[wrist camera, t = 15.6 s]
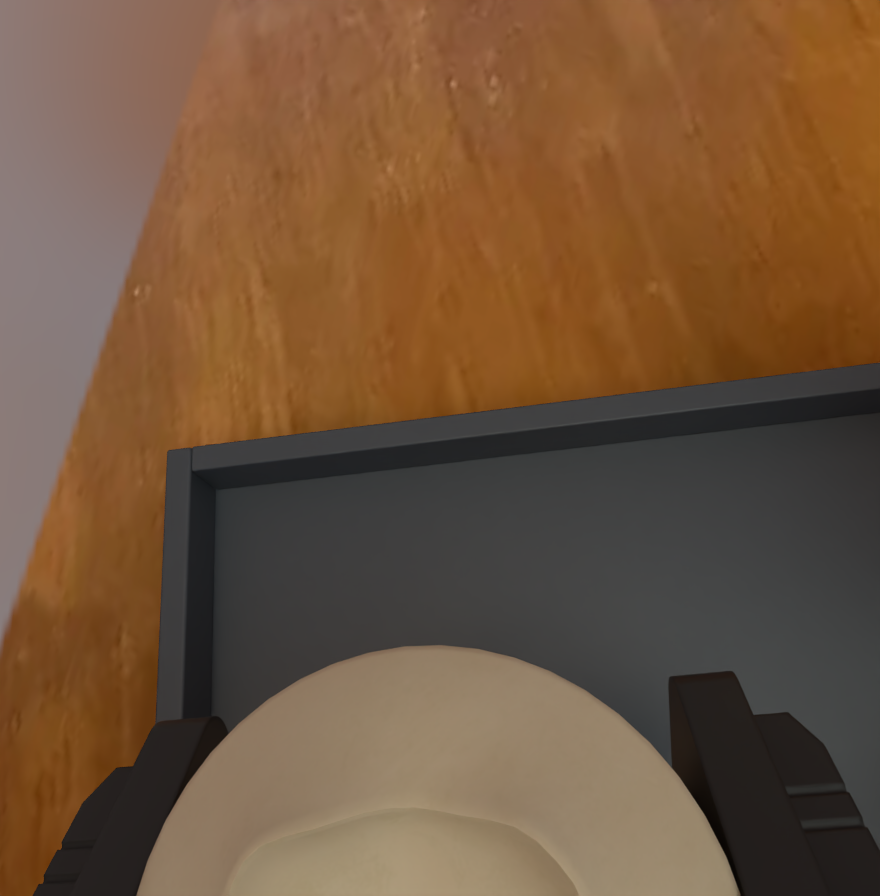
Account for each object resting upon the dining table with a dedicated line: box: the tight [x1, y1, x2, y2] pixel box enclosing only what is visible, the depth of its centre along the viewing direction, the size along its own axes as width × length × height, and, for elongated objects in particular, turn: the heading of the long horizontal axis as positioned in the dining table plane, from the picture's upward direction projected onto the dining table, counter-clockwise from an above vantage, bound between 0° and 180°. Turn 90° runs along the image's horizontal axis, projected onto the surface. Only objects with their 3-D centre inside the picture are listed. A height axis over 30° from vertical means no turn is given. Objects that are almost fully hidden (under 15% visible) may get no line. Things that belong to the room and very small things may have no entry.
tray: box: [156, 363, 880, 850], centre depth 16 cm, size 25×15×2 cm, turn 94°
